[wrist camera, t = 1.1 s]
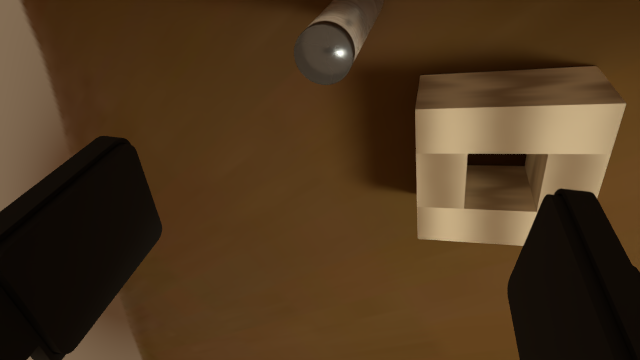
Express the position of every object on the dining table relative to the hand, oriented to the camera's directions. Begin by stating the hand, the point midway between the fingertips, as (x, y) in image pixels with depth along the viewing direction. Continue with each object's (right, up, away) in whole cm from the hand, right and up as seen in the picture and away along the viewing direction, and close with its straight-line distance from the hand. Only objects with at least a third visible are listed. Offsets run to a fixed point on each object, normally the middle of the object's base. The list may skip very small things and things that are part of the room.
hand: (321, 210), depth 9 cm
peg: (+3, +14, +20) cm, 24 cm away
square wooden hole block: (+15, +4, +23) cm, 28 cm away
